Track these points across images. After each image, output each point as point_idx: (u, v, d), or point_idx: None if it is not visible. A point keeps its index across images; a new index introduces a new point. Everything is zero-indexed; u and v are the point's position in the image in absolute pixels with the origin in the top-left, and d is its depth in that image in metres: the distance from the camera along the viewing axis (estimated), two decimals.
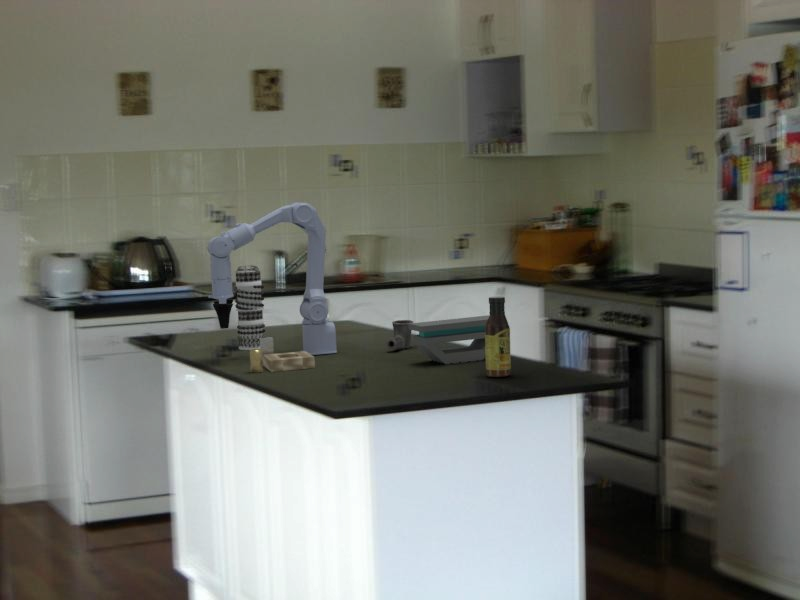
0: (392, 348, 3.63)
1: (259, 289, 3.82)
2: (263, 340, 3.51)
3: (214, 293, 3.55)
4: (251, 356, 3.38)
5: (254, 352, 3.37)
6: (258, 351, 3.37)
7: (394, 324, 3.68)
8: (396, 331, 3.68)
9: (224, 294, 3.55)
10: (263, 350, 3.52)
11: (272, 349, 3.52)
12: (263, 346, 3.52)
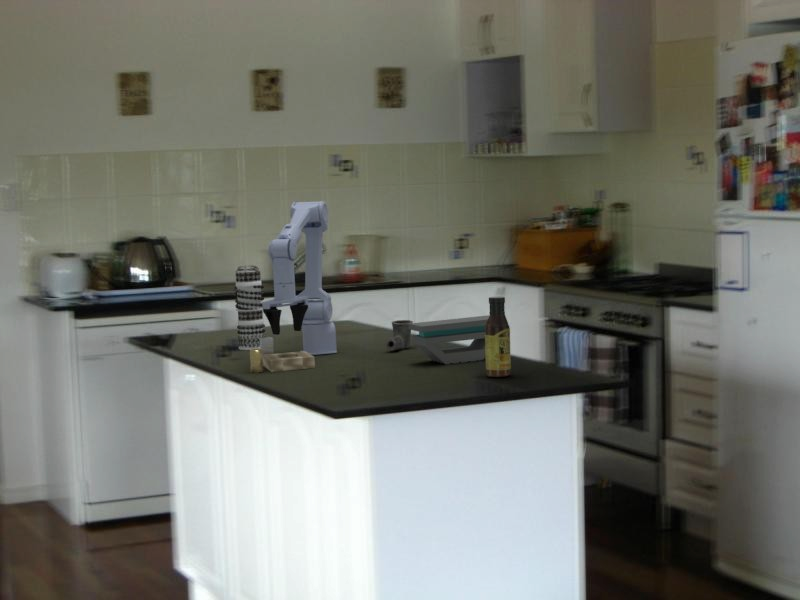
0: (392, 348, 3.62)
1: (259, 289, 3.82)
2: (263, 340, 3.51)
3: None
4: (251, 356, 3.38)
5: (254, 352, 3.37)
6: (258, 351, 3.37)
7: (393, 324, 3.68)
8: (395, 331, 3.68)
9: (278, 299, 3.41)
10: (263, 350, 3.52)
11: (272, 349, 3.52)
12: (263, 346, 3.52)
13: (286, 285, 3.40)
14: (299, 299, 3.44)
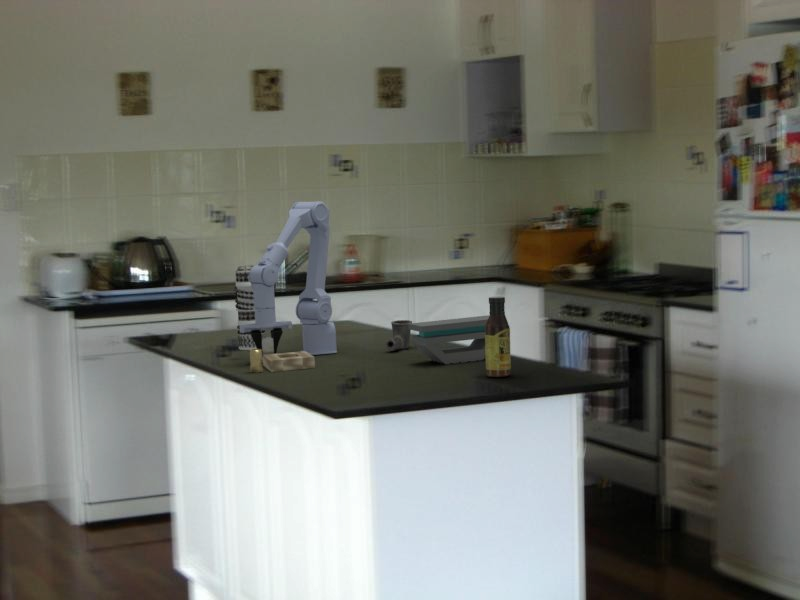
0: (391, 348, 3.62)
1: None
2: (263, 340, 3.51)
3: None
4: (251, 356, 3.38)
5: (254, 352, 3.37)
6: (258, 351, 3.37)
7: (393, 324, 3.67)
8: (395, 331, 3.67)
9: (256, 323, 3.51)
10: (263, 350, 3.52)
11: (272, 349, 3.52)
12: (263, 346, 3.52)
13: (261, 310, 3.50)
14: (279, 324, 3.52)
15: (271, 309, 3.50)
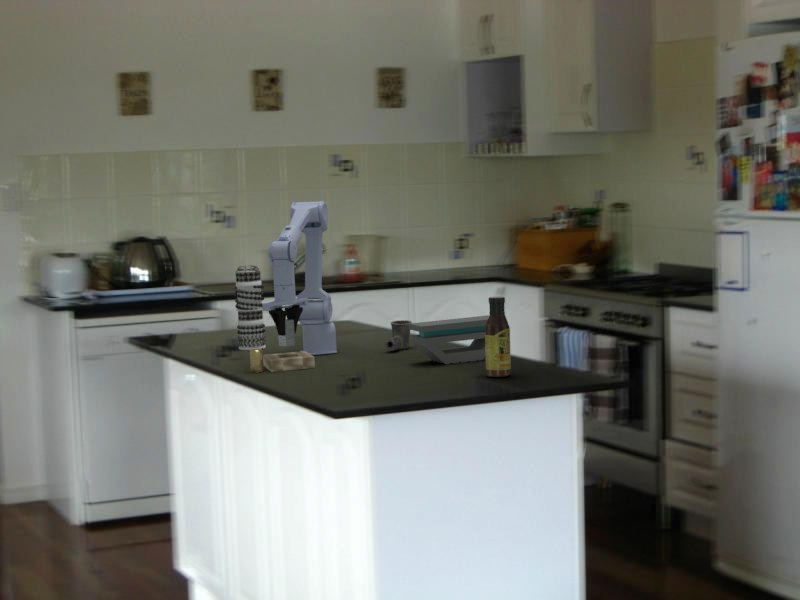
0: (391, 348, 3.62)
1: (259, 289, 3.82)
2: (286, 322, 3.42)
3: None
4: (251, 356, 3.38)
5: (254, 352, 3.37)
6: (258, 351, 3.37)
7: (393, 324, 3.67)
8: (395, 331, 3.67)
9: (278, 301, 3.41)
10: (286, 332, 3.43)
11: (293, 330, 3.44)
12: (286, 328, 3.43)
13: (286, 287, 3.40)
14: (299, 301, 3.45)
15: (294, 285, 3.42)
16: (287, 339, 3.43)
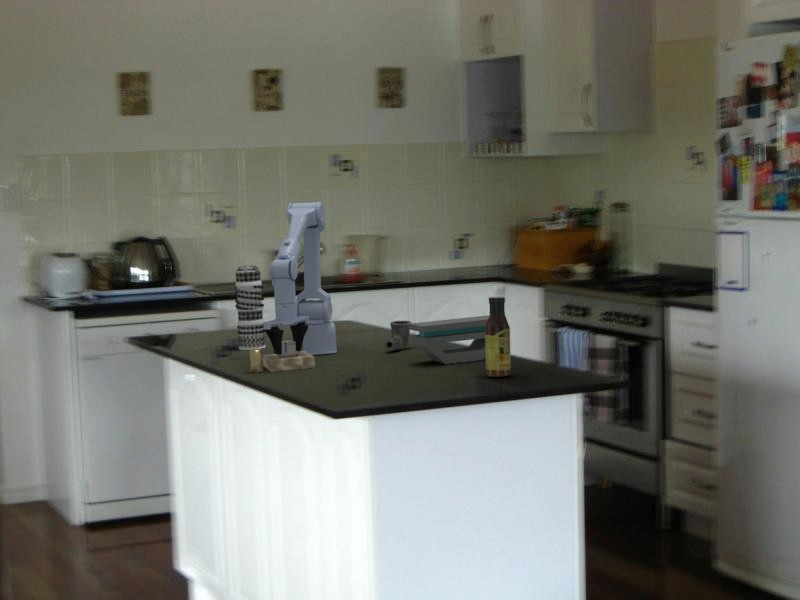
0: (390, 349, 3.61)
1: (259, 289, 3.82)
2: (287, 343, 3.43)
3: None
4: (251, 356, 3.38)
5: (254, 352, 3.37)
6: (258, 351, 3.37)
7: (392, 325, 3.67)
8: (394, 332, 3.67)
9: (279, 319, 3.42)
10: (287, 353, 3.43)
11: (294, 352, 3.45)
12: (287, 349, 3.43)
13: (287, 305, 3.41)
14: (300, 319, 3.45)
15: (295, 304, 3.43)
16: None
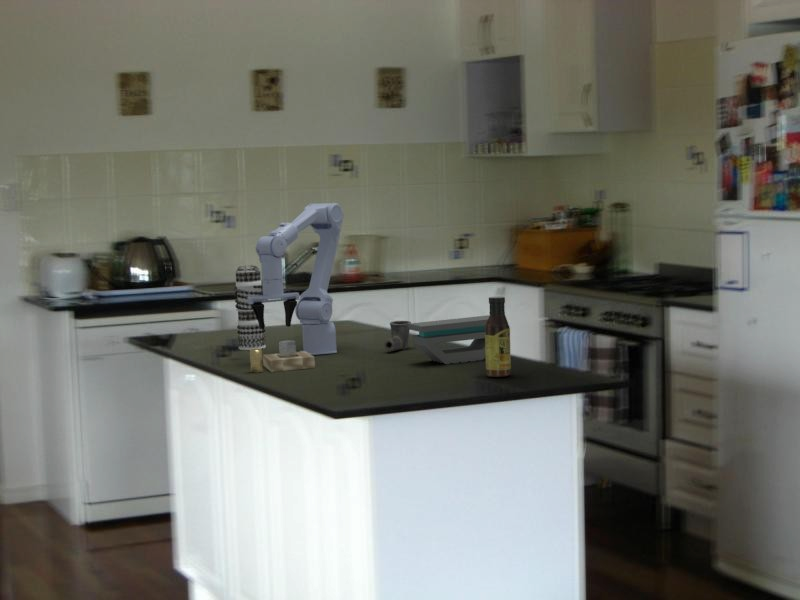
0: (390, 349, 3.61)
1: (259, 289, 3.82)
2: (287, 343, 3.43)
3: None
4: (251, 356, 3.38)
5: (254, 352, 3.37)
6: (258, 351, 3.37)
7: (392, 325, 3.67)
8: (394, 332, 3.67)
9: (264, 295, 3.50)
10: (287, 353, 3.43)
11: (294, 352, 3.45)
12: (287, 349, 3.43)
13: (270, 281, 3.49)
14: (287, 295, 3.52)
15: (279, 280, 3.50)
16: None
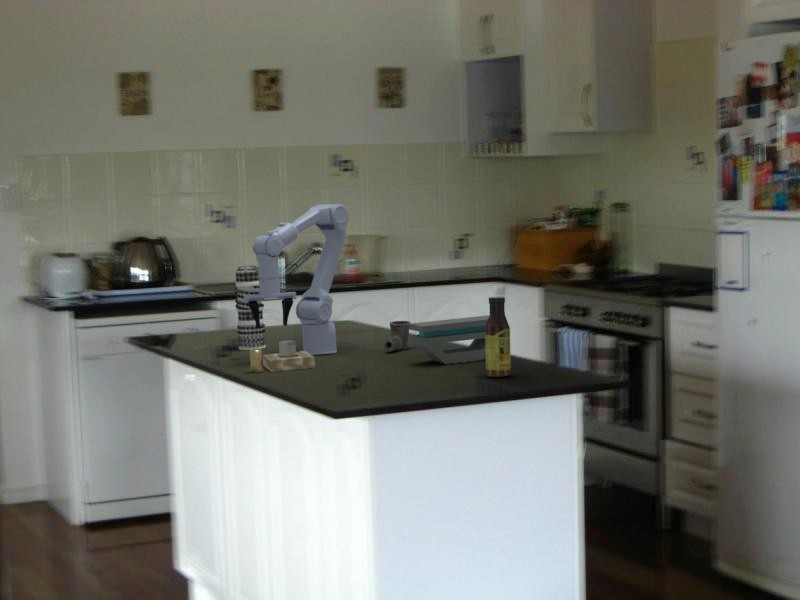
0: (389, 349, 3.61)
1: None
2: (287, 343, 3.43)
3: None
4: (251, 356, 3.38)
5: (254, 352, 3.37)
6: (258, 351, 3.37)
7: (391, 325, 3.66)
8: (393, 332, 3.66)
9: (260, 293, 3.53)
10: (287, 353, 3.43)
11: (294, 352, 3.45)
12: (287, 349, 3.43)
13: (265, 280, 3.51)
14: (283, 295, 3.53)
15: (275, 279, 3.52)
16: None
